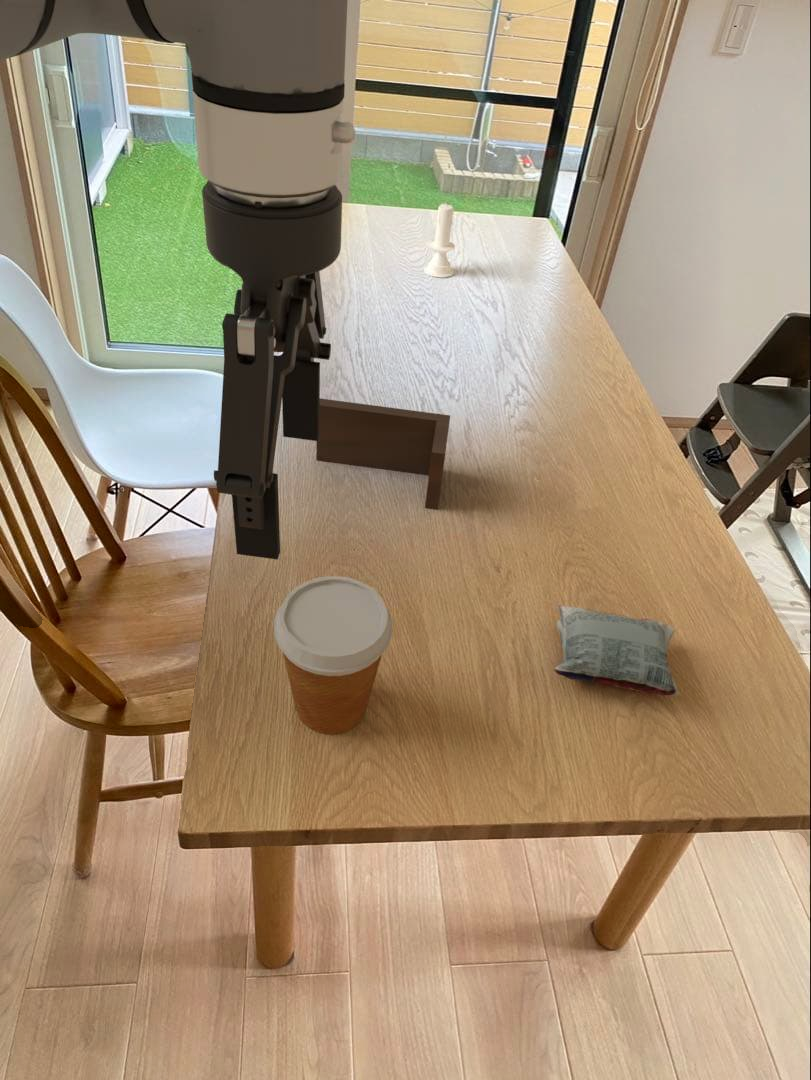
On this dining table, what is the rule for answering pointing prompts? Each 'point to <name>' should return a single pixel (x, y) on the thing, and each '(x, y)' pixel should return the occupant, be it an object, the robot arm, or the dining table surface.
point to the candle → (441, 244)
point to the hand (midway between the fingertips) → (281, 489)
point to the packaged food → (615, 650)
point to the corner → (384, 440)
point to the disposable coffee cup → (332, 649)
